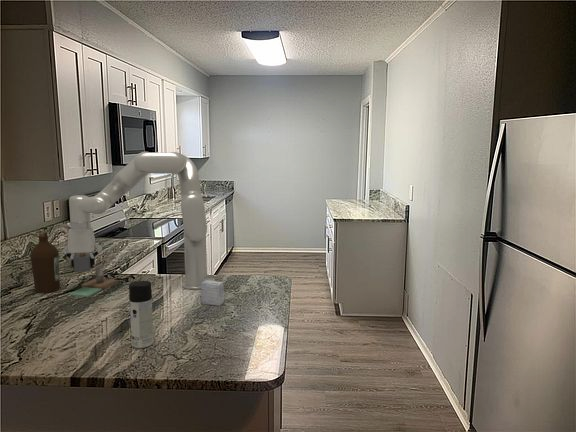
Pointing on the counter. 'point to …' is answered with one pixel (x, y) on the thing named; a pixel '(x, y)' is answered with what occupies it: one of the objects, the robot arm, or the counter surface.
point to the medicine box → (212, 292)
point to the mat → (85, 292)
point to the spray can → (141, 314)
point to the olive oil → (45, 265)
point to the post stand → (99, 280)
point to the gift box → (82, 262)
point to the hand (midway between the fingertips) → (83, 267)
